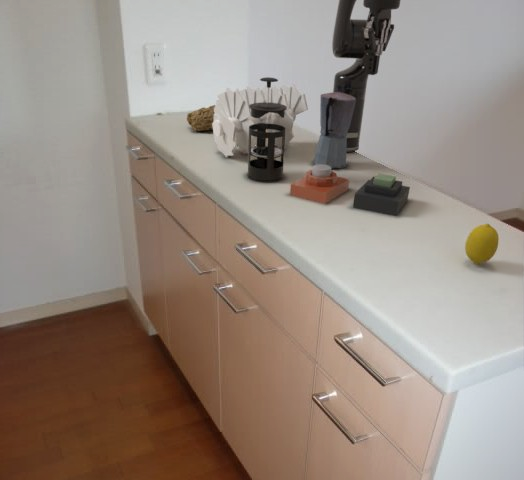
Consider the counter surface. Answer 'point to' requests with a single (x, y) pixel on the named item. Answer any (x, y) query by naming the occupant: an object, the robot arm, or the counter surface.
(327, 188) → the orange button block
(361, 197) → the dark square push button
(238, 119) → the spiral staircase
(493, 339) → the counter surface
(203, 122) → the sponge
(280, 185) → the counter surface
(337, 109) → the moka pot
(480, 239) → the lemon
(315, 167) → the pale grey round puck
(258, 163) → the french press
